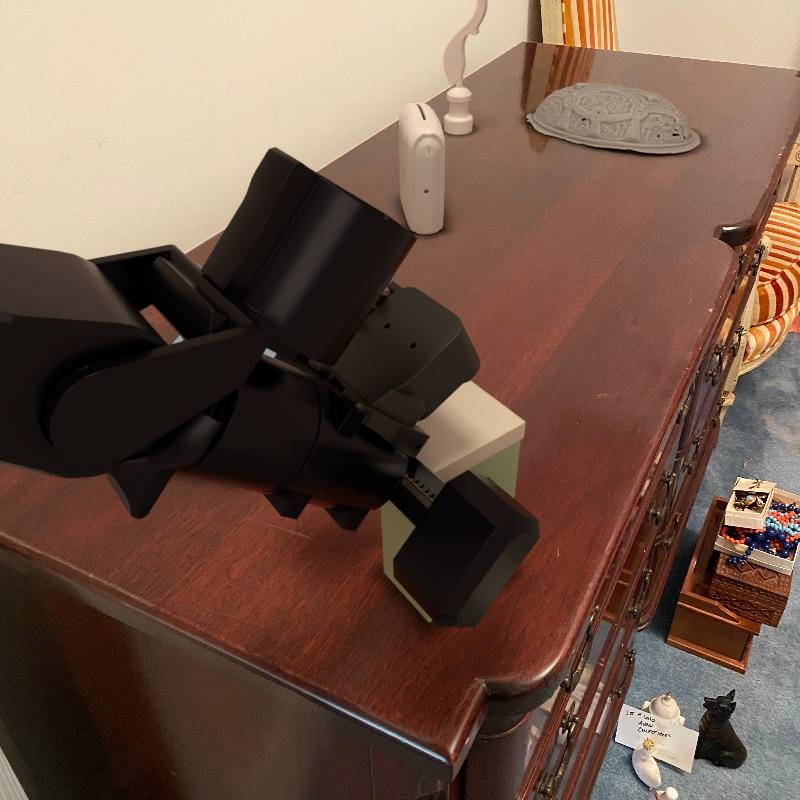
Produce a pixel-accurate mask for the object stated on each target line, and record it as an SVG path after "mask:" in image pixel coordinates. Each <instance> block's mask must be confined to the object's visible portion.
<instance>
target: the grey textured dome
mask: <svg viewBox="0 0 800 800" xmlns="http://www.w3.org/2000/svg"><path fill="white" fill-rule="evenodd" d="M525 118H526V119H527V120H526V122H527V123H528V122H529V123H530V124H531V125H532V127H533V128H534V129H535V131H537V132H539V133H541V134H543V135H546V136H550V137H555V138H559V139H562V140H565V141H568V142H571V143H574V144H578V145H585V146H589V147H595V148H602V149H603V148H604V149H606V148H607V149H615V150H618V149H619V150H632V151H636V152H639V153H640V152H641V153H644V154H645V153H647V154H661V155H662V154H663V155H664V154H680V153H685V152H689V151H692V150H694V149H695V148H697V147H698V146H700V144H701V139H700V136H699V134H698V133H696V132H695V130H693V129H691V127H690V125H689V124H688V122H687V118H686V116H685V115H684V114H683V113H682V111H680V110H679V109H678V108H677V106H676V105H674V104H673V103H671V102H670V101H669V100H667V99H666V98H664V97H663V96H661V95H660V94H659V93H657V92H650V91H647V90H643V89H640V88H636V87H628V86H623V85H621V84H610V83H599V82H598V83H597V82H596V83H592V82H590V83H586V82H577V83H575V84H574V85H571V86H567V87H563V88H561V89H556V90H554V91H553V92H552V93H550V94H549V95H548V96H547V97H545V98H544V99H543V101H542V102H541V103H540V104H539V106H538V107H536V109H535V112H534V113H528V114H527V115H526V116H525ZM583 119H585V120H583ZM673 134H676V135H675V136H674V135H673Z"/></svg>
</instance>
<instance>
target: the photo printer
mask: <svg viewBox="0 0 800 800" xmlns="http://www.w3.org/2000/svg"><path fill="white" fill-rule="evenodd" d="M398 139H399V140H398V142H399V143H398V144H399V145H398V146H399V147H398V149H399V151H398V152H399V153H398V154H399V195H400V196H399V198H400V205H401V207H402V211H403V214H404V217H405V220H406V224H407V226H408V228H409V230H410V232H414V233H415V234H418V235H433V234H436V233H438V232H439V231H440V230H442V229H443V227H444V219H445V218H444V217H445V187H446V186H445V185H446V182H445V180H446V137H445V133H444V129H443V127H442V124H441V122H440V119H439V117H438V115H437V113H436V112H435V111H434V109H433V108H432V107H431V106H430V105H428V104H427V103H426V102H423V101H419V102H409V103H407V104H406V105H405V106H404V107H403V108H402V109H401V111H400V114H399V117H398Z"/></svg>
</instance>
